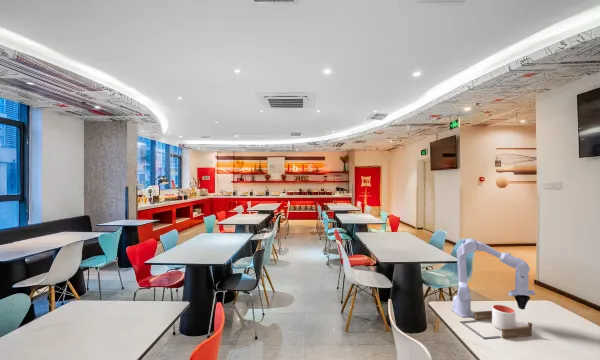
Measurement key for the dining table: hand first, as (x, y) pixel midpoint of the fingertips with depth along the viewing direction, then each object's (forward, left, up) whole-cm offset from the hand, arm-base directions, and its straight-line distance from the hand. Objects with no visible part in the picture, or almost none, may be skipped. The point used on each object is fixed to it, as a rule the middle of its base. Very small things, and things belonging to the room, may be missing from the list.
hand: (521, 308), depth 154 cm
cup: (0, -11, -10) cm, 15 cm away
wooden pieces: (0, -12, -9) cm, 15 cm away
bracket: (0, -25, -9) cm, 27 cm away
